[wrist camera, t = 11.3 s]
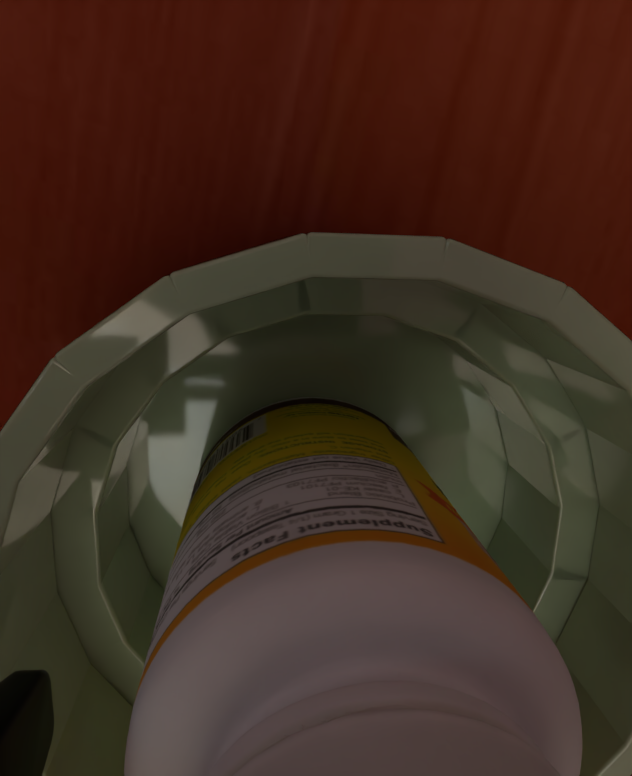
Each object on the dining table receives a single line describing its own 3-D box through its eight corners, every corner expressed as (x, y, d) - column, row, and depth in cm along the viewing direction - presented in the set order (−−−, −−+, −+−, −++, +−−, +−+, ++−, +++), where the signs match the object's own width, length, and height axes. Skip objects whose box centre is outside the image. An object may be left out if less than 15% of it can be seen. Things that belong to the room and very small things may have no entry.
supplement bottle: (410, 594, 16) (674, 1210, 6) (196, 599, 15) (70, 1291, 5) (426, 388, 14) (808, 722, 4) (192, 386, 14) (14, 760, 4)
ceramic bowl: (89, 693, 16) (-8, 947, 10) (57, 228, 13) (-104, 217, 7) (520, 675, 17) (653, 895, 11) (578, 246, 14) (793, 249, 9)
